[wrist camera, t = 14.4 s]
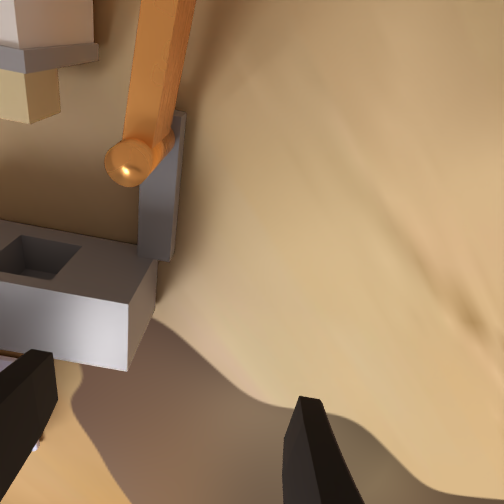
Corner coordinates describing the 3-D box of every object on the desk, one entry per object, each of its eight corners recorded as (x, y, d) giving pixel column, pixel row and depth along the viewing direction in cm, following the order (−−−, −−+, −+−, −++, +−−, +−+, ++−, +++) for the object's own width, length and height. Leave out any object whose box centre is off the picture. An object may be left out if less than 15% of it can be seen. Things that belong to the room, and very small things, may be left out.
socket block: (169, 311, 22) (144, 374, 18) (-23, 277, 22) (-91, 333, 18) (186, 112, 16) (156, 139, 12) (-72, 61, 16) (-187, 72, 12)
